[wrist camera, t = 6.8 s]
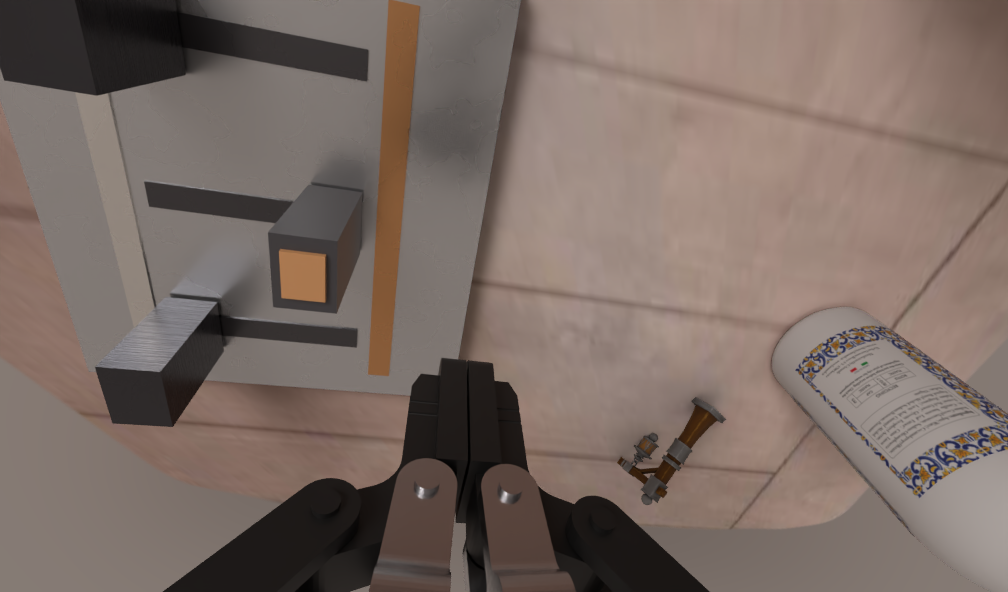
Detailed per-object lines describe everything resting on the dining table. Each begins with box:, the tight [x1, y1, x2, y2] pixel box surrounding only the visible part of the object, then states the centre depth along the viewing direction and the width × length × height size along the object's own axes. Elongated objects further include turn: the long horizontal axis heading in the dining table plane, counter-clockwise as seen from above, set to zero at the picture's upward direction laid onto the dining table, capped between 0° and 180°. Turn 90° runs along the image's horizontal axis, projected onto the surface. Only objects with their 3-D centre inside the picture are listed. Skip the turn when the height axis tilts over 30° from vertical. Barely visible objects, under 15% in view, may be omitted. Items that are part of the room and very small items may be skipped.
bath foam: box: [772, 307, 1008, 592], centre depth 23 cm, size 7×7×20 cm
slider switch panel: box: [0, 0, 521, 427], centre depth 20 cm, size 20×22×7 cm
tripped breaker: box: [268, 184, 362, 314], centre depth 20 cm, size 2×3×6 cm
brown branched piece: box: [617, 397, 726, 505], centre depth 33 cm, size 2×8×4 cm, turn 134°
